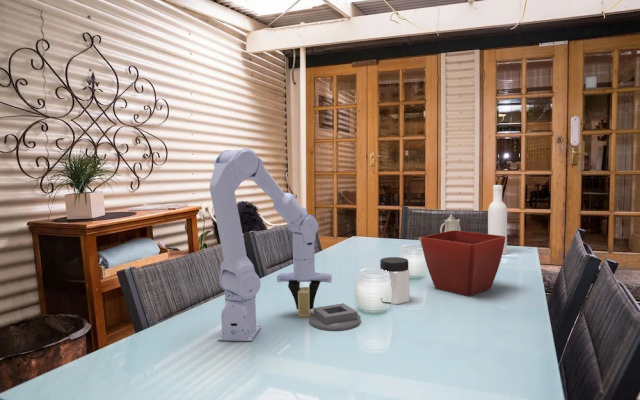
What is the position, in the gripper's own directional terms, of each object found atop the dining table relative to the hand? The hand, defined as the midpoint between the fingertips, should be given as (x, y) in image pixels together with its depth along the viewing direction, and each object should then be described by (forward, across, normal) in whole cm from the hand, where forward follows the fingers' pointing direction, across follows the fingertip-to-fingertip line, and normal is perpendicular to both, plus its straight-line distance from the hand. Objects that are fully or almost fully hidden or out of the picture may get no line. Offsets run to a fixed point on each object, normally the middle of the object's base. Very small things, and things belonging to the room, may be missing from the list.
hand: (305, 308), depth 119 cm
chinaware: (+2, -53, -98) cm, 112 cm away
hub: (+2, -8, +5) cm, 10 cm away
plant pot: (+2, -46, -27) cm, 54 cm away
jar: (+2, -24, -14) cm, 28 cm away
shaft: (+2, 0, 0) cm, 2 cm away
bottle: (+2, -72, -84) cm, 111 cm away
